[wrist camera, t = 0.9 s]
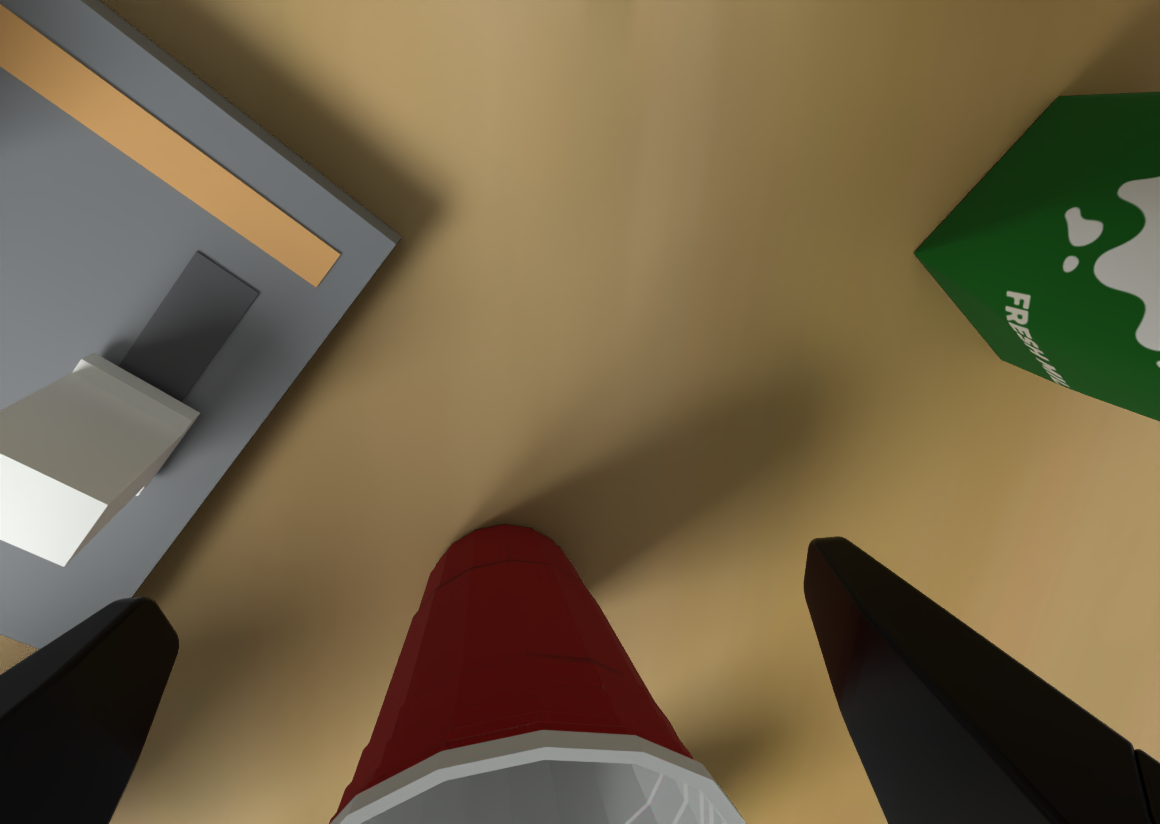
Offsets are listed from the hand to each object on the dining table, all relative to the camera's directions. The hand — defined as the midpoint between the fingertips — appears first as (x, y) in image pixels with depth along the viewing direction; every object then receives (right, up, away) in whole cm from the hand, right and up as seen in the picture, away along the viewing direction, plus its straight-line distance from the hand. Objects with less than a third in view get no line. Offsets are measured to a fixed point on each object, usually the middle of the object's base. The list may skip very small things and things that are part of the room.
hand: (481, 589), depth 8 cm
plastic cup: (-2, -5, +17) cm, 17 cm away
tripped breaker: (-12, +2, +9) cm, 15 cm away
